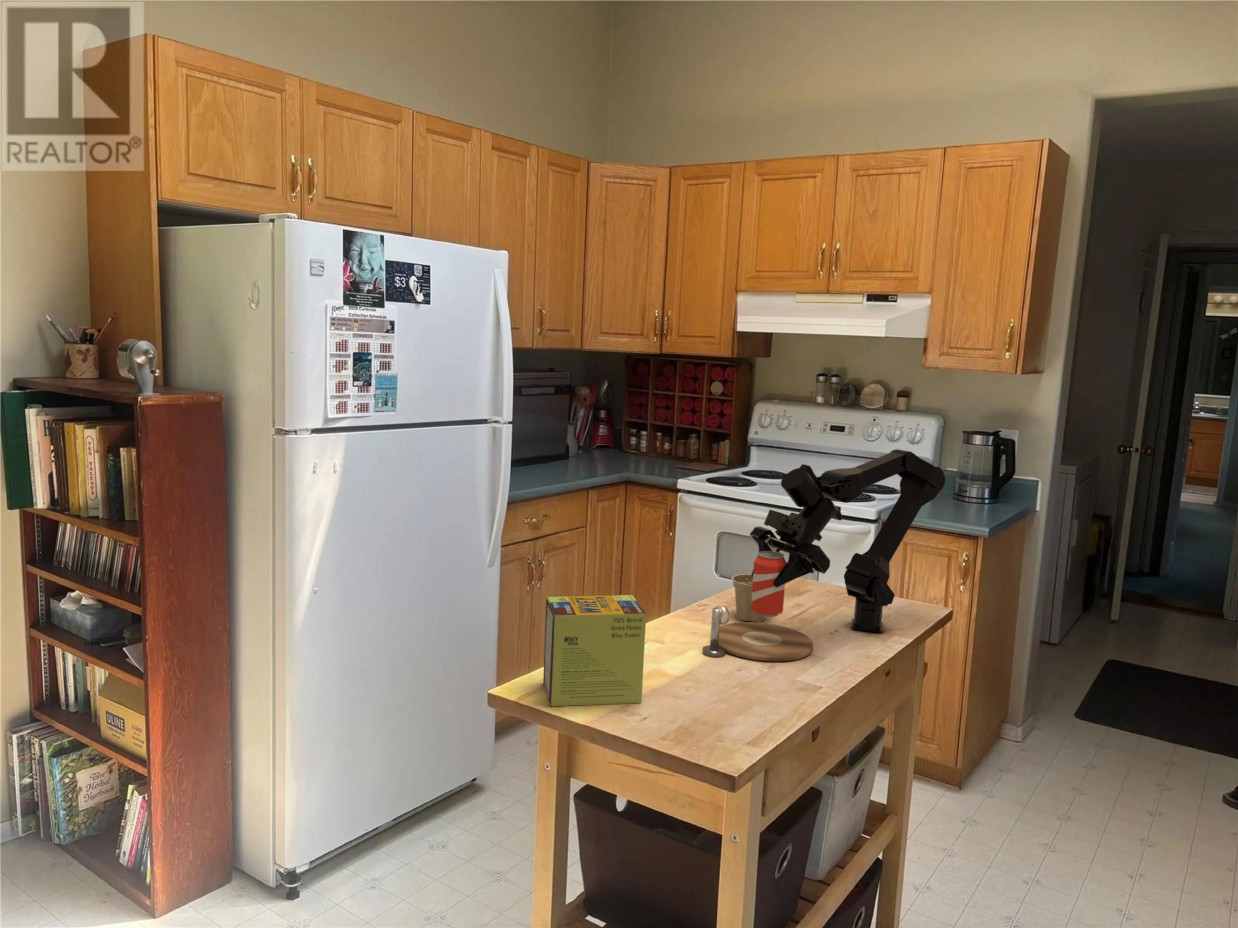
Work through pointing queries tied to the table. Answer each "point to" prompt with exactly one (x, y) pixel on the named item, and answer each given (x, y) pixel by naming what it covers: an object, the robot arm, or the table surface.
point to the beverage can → (767, 584)
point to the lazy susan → (764, 641)
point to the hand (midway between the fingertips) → (763, 581)
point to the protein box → (594, 650)
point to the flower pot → (744, 598)
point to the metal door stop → (716, 632)
